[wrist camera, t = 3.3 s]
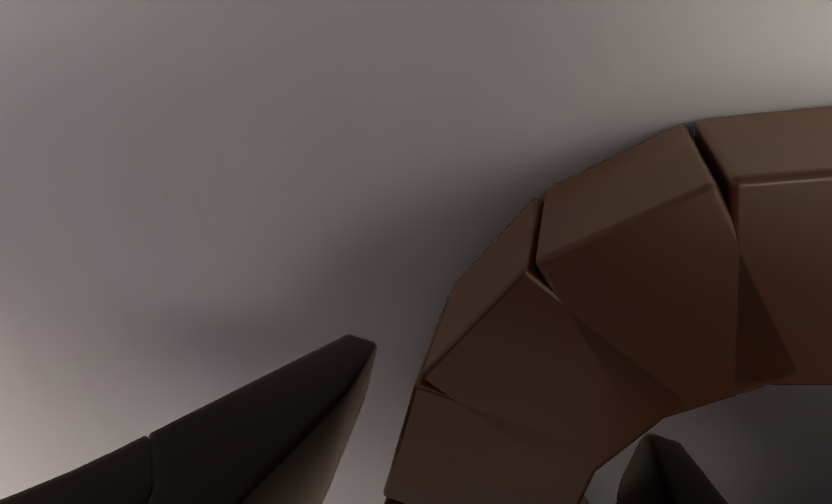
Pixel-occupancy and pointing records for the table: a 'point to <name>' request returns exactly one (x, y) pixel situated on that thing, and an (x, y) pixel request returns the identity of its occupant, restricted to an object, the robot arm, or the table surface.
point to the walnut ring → (626, 311)
